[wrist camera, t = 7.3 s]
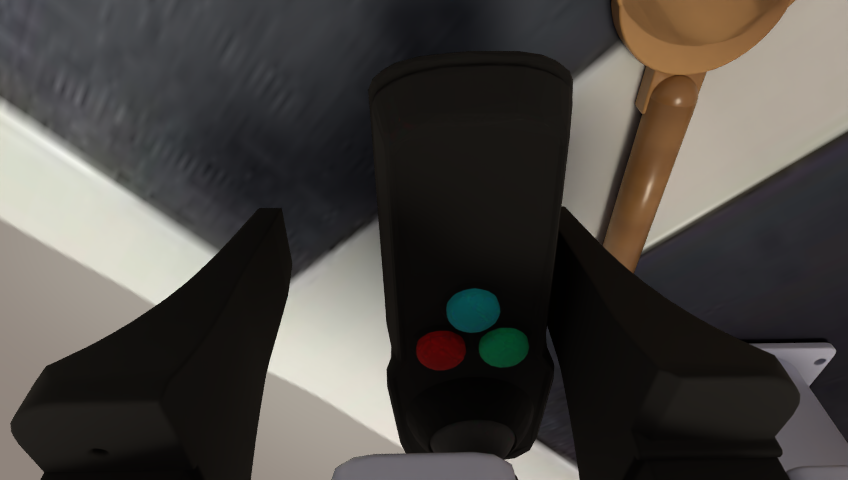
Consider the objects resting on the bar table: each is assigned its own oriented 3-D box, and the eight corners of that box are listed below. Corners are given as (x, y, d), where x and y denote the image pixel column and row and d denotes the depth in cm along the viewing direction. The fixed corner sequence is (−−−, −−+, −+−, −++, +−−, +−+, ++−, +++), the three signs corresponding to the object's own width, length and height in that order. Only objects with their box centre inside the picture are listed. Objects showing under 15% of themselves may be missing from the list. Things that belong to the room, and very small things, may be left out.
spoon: (664, 299, 23) (676, 323, 22) (527, 300, 23) (533, 325, 22) (893, -226, 12) (941, -228, 11) (633, -232, 12) (657, -234, 11)
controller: (400, 290, 22) (397, 548, 15) (368, -32, 14) (328, 165, 7) (502, 285, 22) (554, 542, 15) (527, -40, 14) (669, 148, 7)
